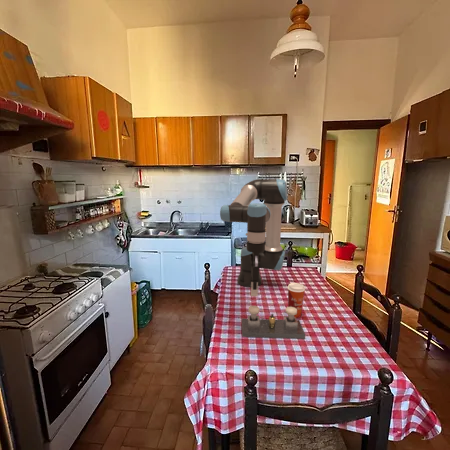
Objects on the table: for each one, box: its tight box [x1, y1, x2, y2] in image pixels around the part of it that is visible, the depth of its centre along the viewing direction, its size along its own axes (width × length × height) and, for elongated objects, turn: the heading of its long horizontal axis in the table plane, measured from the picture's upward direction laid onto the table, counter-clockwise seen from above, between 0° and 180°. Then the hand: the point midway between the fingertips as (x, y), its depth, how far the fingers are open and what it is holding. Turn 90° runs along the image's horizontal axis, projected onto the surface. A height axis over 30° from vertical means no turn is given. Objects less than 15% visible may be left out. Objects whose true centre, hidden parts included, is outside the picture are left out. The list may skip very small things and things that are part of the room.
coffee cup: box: [287, 282, 306, 319], centre depth 128 cm, size 8×8×15 cm
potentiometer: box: [268, 313, 276, 328], centre depth 115 cm, size 3×3×6 cm
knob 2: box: [285, 306, 297, 321], centre depth 114 cm, size 5×5×5 cm
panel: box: [241, 315, 306, 340], centre depth 115 cm, size 11×26×5 cm, turn 88°
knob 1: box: [248, 305, 260, 320], centre depth 115 cm, size 5×5×5 cm
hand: (254, 295), depth 113 cm, fingers closed
